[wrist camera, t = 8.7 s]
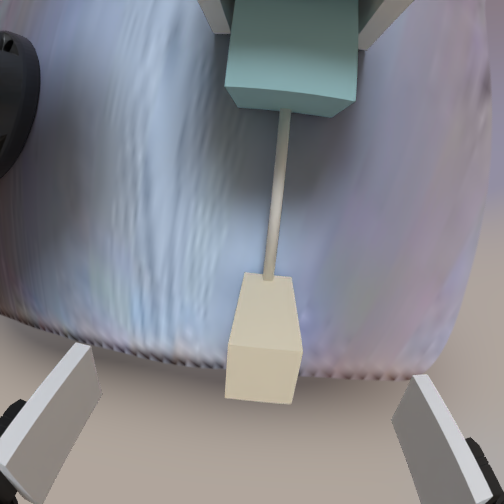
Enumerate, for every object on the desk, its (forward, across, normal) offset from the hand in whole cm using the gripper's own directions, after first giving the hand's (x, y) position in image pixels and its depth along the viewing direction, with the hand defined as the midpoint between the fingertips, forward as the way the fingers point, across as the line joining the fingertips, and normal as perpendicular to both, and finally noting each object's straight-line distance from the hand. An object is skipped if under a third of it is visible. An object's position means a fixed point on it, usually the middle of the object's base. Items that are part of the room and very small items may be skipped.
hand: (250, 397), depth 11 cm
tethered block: (+11, +1, +8) cm, 14 cm away
